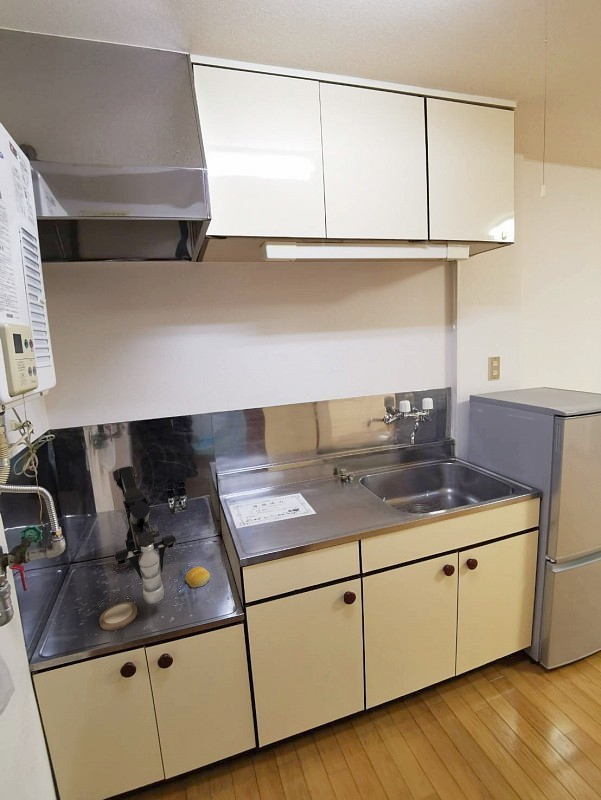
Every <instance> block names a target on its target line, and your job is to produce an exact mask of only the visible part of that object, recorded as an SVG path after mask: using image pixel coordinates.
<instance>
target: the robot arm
mask: <svg viewBox="0 0 601 800" xmlns="http://www.w3.org/2000/svg"><path fill="white" fill-rule="evenodd" d="M137 476H138V475H137V470H136V466H130V465H127V466H122V467H119V468H117V469H115V470H114V471H112V481H113V482H114V483H115V486H116V487H117V489H119V490H120V491H121V495H122V508H123V511H124V514H125V515H126V516H125V517H126V521H127V526H128V528H127V532H126V535H125V539H124V547H125V549H121V550H119V551H116V552H115V553H114V564H115V566H119V565H123V564H124V565H125V566H130V567H131V569H133V571H134V572H135V573H136V575H137V576H138V578H139V579H140V581H143V578H142V573H141V569H140V566H139V563H138V560H139V557H140V555H141V553H142V551H141V545H143V544H144V543H147V542H153V546H154V550H155V551H156V550H158V551H157V553H158V554H159V570H160V572H161V573H163V570H164V557H165V553H167V552H168V550H169V549H172V548H174V547H176V544H177V539H176V536H175V535H174V534H170V535H167V536H165V537H161V541H158V542H156V541H155V538H158V537H160V530H159V529H160V528H159V527H158V525H157V526H154V527H151V525H150V521H149V517H150V511H151V510H150V508H151V507H150V506H151V501H150V499H149V497H147V495H145V494H144V491H143V490H142V489H140V488H138V485H137V482H136V478H137Z"/></svg>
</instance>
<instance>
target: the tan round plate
mask: <svg viewBox="0 0 601 800" xmlns="http://www.w3.org/2000/svg"><path fill="white" fill-rule="evenodd" d="M137 614H138V607H137V605H135V603H133V602H129V601H128V602H127V601H123V602H119V603H117V604H113V605H112V606H110V607H108V608H107V609H105V611H103V612H102V613H101V615H100V616H99V620H98V621H99V626H100V628H101V629H102V630H104V631H115V630H119V629H122V628H125V627H126V626H128V625H129V624H131V623H132V622H133V621H134V620H135V619H136V617H137Z"/></svg>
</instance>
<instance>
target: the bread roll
mask: <svg viewBox="0 0 601 800" xmlns="http://www.w3.org/2000/svg"><path fill="white" fill-rule="evenodd" d="M184 578H185V582H186V584H188V585H189V587H191V588H201V587H203V586H205V585H206V584H207V583H208V582H209V581H210V579H211V574H210V572H209V571H207V570H206V569H205V568H204V567H202V566H195V567H194V568H191V569H190V570H188V572H187V573H186V574H185V576H184Z"/></svg>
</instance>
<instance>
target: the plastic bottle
mask: <svg viewBox="0 0 601 800" xmlns="http://www.w3.org/2000/svg"><path fill="white" fill-rule="evenodd" d="M141 551H142V553H141V555H140V557H139V560H138V563H139V566H140V568H139V569H140V572H141V575H142V586H143V587H142V588H143V590H142V598H143V600H144V601H145V602H146V603H147V604H148V605H153V604H156V603H159V602H160V601H161V600H162V599H163V598H164V593H165V588H164V585H163V583H162V577H161V573H160V572H161V570H160V565H159V554H158V551H156V549H155V550H154V546H153V542H147V543H144V544H143V545H141Z"/></svg>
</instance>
